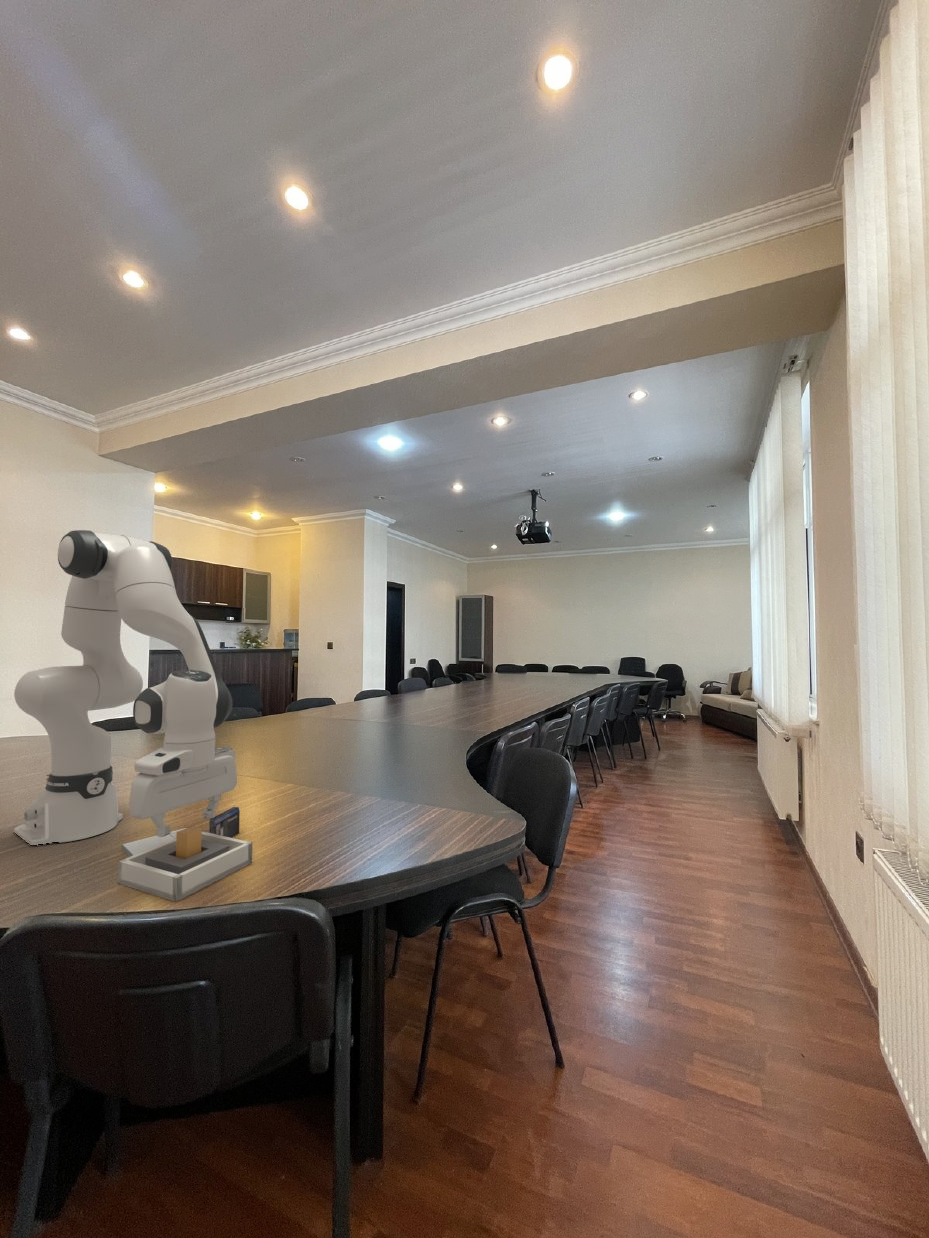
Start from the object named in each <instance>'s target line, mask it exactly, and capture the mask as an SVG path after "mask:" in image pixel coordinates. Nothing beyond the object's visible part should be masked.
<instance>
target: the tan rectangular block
mask: <svg viewBox="0 0 929 1238" xmlns="http://www.w3.org/2000/svg"><path fill="white" fill-rule="evenodd" d="M185 828H186V829H184V828H182V829H183V830H181V831H178V832H177V834H176V857H179V858H183V859H187V858H189V857H191V856H193V855H196V854H198V853H200V852H201V832H202V830H203V829H202V828H200V827H195V826H189V827H185Z"/></svg>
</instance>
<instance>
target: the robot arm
mask: <svg viewBox="0 0 929 1238" xmlns="http://www.w3.org/2000/svg"><path fill="white" fill-rule="evenodd" d="M57 561H58V564H59V567H60V568H61V569H62V571H63V572H64V573H66V574H67V575H69V576H71V577H70V582H69V583H68V584H69V585H68V588H67V590H66V591H67V592H66V596H65V602H64V609H63V618H62V624H61V625H62V626H61V631H60V632H61V633H60V634H61V639H62V641H64V643H65V644H66V645H68V646H69V647H71V648H72V649H74V650H76V651H79V652H80V653H81V655H82V659H83V661H82V662H83V663H82V665H62V666H61V665H59V666H50V667H44V668H41V669H40V668H39V669H36V670H31V671H28V672H26V673H24V674H23V675H22V676H21V677H20V678H19V680H18V682H17V683H16V685H15V689H14V692H13V693H14V700H15V703H16V705H17V706H18V708H19V709H21V712H24V713H25V714H28V715H29V716H31V717H32V718H34V719H36V720H37V721H38V723H40V724H41V725H42V727H43V728H44V729H45V731H46V733H47V735H48V738H49V741H50V752H51V753H50V755H51V772H50V773H49V774H46V777H47V778H46V785H45V787H44V788H45V791H44V792H42V794H41V795H39V796H38V798H36V799H35V800H34V801H33V802H32V803H30V804H29V806H28V810H26V811H24V814H23V817H24V821H25V823H22V824H20V825H17V826H16V827H14V828H13V833H14V832H16V833H17V834H18V835H20V837H22V838H24V839H25V840H26V842H29V844H30V845H37V846H39V845H38V844H43V845H47V844H46V843H49V844H53V843H52V842H59V843H67V842H72V841H74V842H75V841H78V840H84V839H87V838H90V837H91V838H92V837H94V836H97V835H98V836H99V835H101V834H104V833H106V832H108V831H110V830H112V829H114V828H115V827H116V826H117V825H118V822H120V821H121V820H122V819H123V818H124V816H123V813H120V812H119V806H118V792H117V791H118V790H117V787H116V786H115V785H113V784H112V781H113V775H114V771H113V766H112V764H111V761H112V760H111V759H112V758H111V755H112V753H111V752H112V737H111V734H110V733H109V732H108V731H107V730H105V729H104V728H102V727H99V726H96V725H94V724H92V723H91V722H90V718H89V715H88V712H89V711H97V710H105V709H106V710H107V709H112V708H113V709H114V708H117V707H120V706H124V705H128V704H131V703H133V707H132V708H133V709H132V716H133V717H132V718H133V723H134V725H135V726H137V728H139V729H140V730H141V731H143V732H144V733H146V734H153V735H154V734H155V735H157V734H159V735H160V734H164V738H163V741H162V743H163V744H162V746H160V747H159V748H157V749H156V750H154V751H152V752H150V753H148V754H147V755H144V756H143V757H140V758H139V759H137V760H136V761H135V763H134V771H135V772H137V774H136V776H135V777H134V778H133V780H132V782H131V787H130V792H129V801H128V802H129V803H128V813H130V815H131V816H132V817H134V818H137V819H140V820H146V819H150V820H151V822H152V823H153V824H154V826H155V827H156V831H155V832H156V836H158V837H164V836H166V835H169V834H170V832H171V824H167V823H165V821H164V820H163V819H165V818H166V813H169V812H170V811H171V812H172V811H173V810H177V809H180V808H183V807H186V806H189V805H192V804H196V803H198V802H201V801H205V800H209V802H208V804H207V806H206V808H205V809H202V814H203V815H202V818H203V820H206V821H210V819H212V818H214V817H215V816H216V809H217V807H218V805H219V804H220V802H221V799H222V794H225V793H228V792H231V791H233V790H235V788H236V786H237V785H238V772H237V765H236V764H237V763H236V752H235V750H234V749H233V748H232V747H230V746H229V745H225V746H224V745H223V746H222V747H217V748H216V733H215V729H214V728H219V726H221V725H222V724H223V723H224V722H225V721H226V719H227V718H228V717H229V715H231V712H232V709H233V698H232V694H231V692H230V690H229V688H228V687H227V685H226V684H225V682H224V680H223V678H222V677H221V674H220V671H219V670H218V666H217V664H216V662H215V659H214V656H213V654H212V651H211V649H210V646H209V643H208V641H207V638H206V637H205V633H204V631H203V629H202V627H201V625H200V623H199V621H198V620H197V619H196V618H195V617H194V616H193V615H191V614H190V613H188V611H187V610H186V609H185V608H184V606H183V604H182V602H181V601H180V599H179V597H178V594H177V589H176V587H175V582H174V579H173V575H172V569H173V556H172V554H171V552H170V550H169V549H168V547H166V546H164V545H162V544H160V543H158V542H155V541H147V540H144V539H140V538H137V537H133V536H130V535H129V536H128V535H124V534H112V533H104V532H95V531H94V532H93V531H92V530H88V529H87V530H85V529H79V530H77V529H76V530H71V531H68V533H66V534H65V535H63V537H62V538H61V540H60V541H59V544H58V549H57ZM122 622H123V623H124V624H125V625H127V627H129V628H131V629H132V630H133V631H135V632H137V633H140V634H142V635H145V636H148V637H152V638H154V639H157V640H160V641H163V642H166V643H167V644H170V645H171V646H173V647H175V648H176V649H178V651H180V652H181V654H182V655H183V657H184V660H185V664H186V665H187V666H186V667H187V668H188V669H180V670H179V669H178V670H176V671H173V672H171V673H170V674H169V675H168V677H167V679H166V680H165V681H163V682H162V683H160V684H157V685H154V686H152V687H147V688H145V689H144V690H143V687H144V683H143V677H142V675H141V672H140V671H138V668H137V669H136V667H134V666H133V665H131V663H130V662H129V661H128V660H127V658H126V656H125V655H124V654H125V653H124V652H123V650H122V645H121V627H122ZM20 837H19V838H20ZM26 842H25V843H26ZM29 844H28V845H29ZM30 845H29V846H30Z"/></svg>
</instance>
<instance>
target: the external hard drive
mask: <svg viewBox="0 0 929 1238" xmlns="http://www.w3.org/2000/svg"><path fill="white" fill-rule="evenodd" d="M186 828H187V827H183V828H180V829H176V830H172V831H170V834H169V835H166V836H164V837H158V836H157V835H153V836H149V837H145V838H142V839H138V840H135V841H134V840H133V841H130V842H127V843H123V844H121V850H122V851H123V853H125V854H126V856H128V858H129V857H131V856H134V855H136V854H139V853H141V852H144V851H146V850H149V849H152V848H154V847H157V846H159V845H162V844H164V843H167V842H169V841H172V840H174V839H176V834H177V832H178V831H181V830H183V829H186Z"/></svg>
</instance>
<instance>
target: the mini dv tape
mask: <svg viewBox="0 0 929 1238" xmlns="http://www.w3.org/2000/svg"><path fill="white" fill-rule="evenodd" d="M240 812H241V811H240V807H239V806H232V807H231V808H229V809H227V810H225V811H223V812H220V813H218V815H215V817H214V818H212V819H209V820H208V821H209V825H208V826H209V827H208V829H209V830H208V831H209V832H208V833H212V834H216V835H221V836H225V837H230V838H234V837H236V836H238V835H239V834H240ZM233 836H234V837H233Z"/></svg>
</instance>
